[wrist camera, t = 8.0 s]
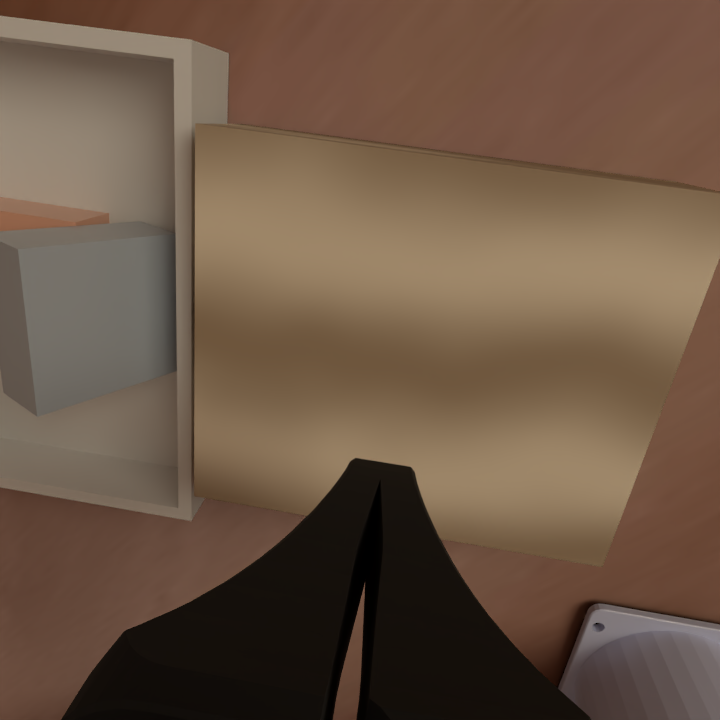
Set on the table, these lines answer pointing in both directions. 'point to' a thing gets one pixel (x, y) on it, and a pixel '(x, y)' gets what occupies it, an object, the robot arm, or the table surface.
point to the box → (124, 204)
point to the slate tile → (85, 311)
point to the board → (438, 329)
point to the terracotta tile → (44, 215)
